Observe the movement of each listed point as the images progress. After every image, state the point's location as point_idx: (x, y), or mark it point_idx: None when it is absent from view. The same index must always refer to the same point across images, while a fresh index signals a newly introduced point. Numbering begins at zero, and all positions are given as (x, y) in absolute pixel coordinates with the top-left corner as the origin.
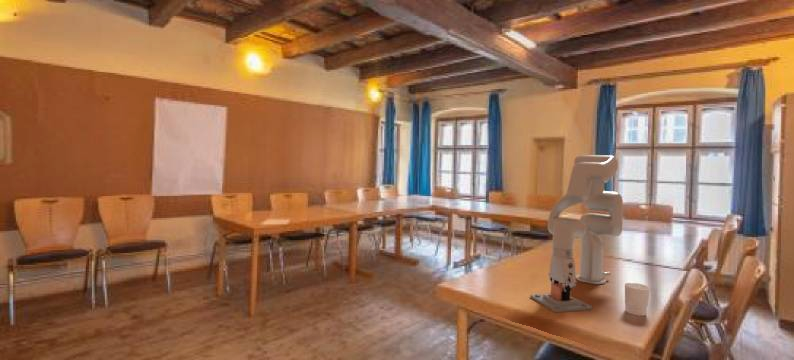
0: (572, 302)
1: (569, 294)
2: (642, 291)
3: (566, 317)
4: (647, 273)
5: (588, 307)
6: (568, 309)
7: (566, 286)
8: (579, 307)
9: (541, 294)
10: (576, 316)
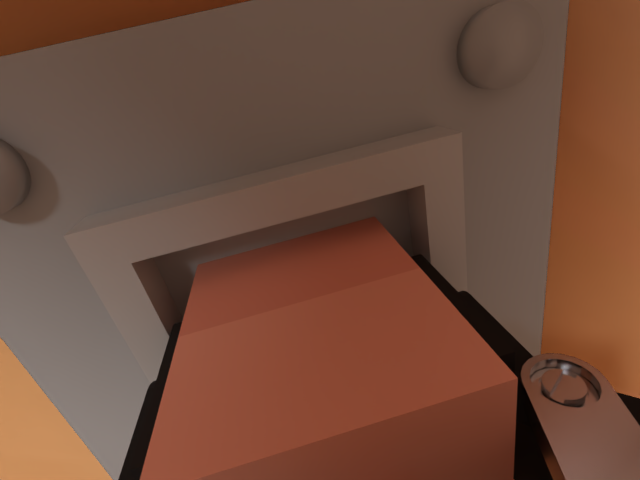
0: (458, 224)
1: (467, 308)
2: None
3: (619, 342)
4: None
5: (562, 17)
6: (538, 299)
7: (444, 452)
8: (550, 170)
9: (101, 450)
10: (635, 261)
